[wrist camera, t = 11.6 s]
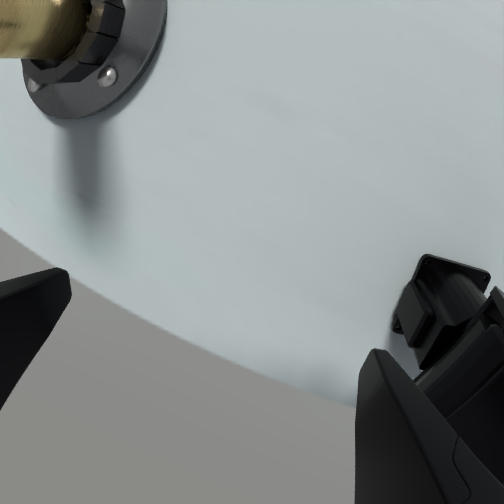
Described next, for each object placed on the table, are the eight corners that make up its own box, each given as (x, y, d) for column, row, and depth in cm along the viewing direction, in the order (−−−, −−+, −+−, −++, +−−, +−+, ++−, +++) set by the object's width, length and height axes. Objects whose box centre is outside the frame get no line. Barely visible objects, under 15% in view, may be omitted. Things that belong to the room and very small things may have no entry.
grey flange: (185, -54, 13) (165, -75, 10) (149, 121, 19) (120, 123, 16) (48, -21, 14) (23, -28, 11) (22, 118, 20) (-6, 123, 17)
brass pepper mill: (100, -7, 14) (-63, -46, 1) (108, 43, 16) (-82, 27, 3) (55, 23, 16) (-100, 16, 2) (60, 71, 17) (-110, 88, 4)
